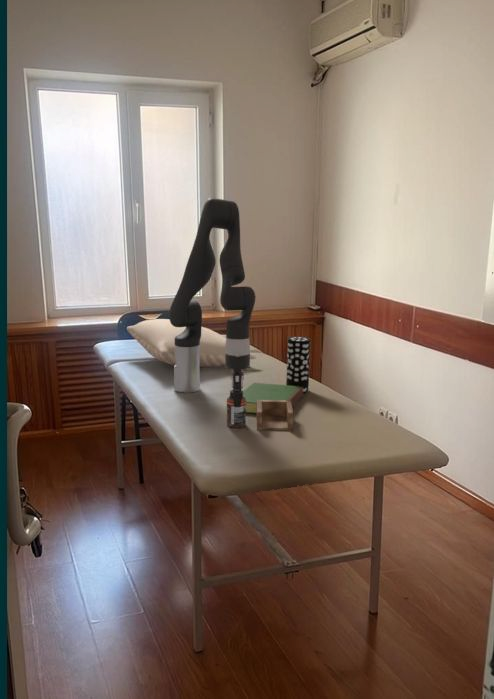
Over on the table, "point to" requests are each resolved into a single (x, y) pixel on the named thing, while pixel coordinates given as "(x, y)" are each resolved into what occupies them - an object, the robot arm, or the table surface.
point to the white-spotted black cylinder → (298, 362)
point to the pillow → (161, 342)
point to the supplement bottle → (236, 411)
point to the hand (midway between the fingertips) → (237, 402)
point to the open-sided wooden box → (274, 415)
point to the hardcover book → (270, 394)
